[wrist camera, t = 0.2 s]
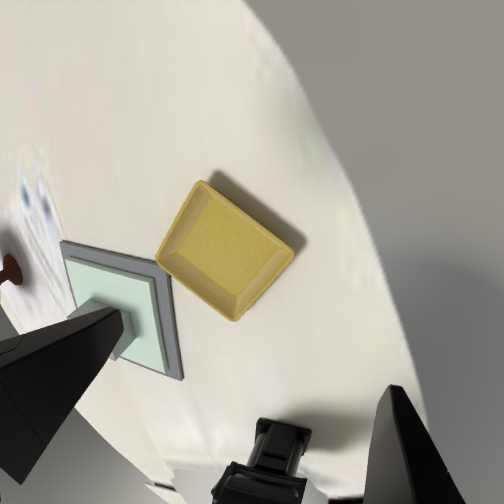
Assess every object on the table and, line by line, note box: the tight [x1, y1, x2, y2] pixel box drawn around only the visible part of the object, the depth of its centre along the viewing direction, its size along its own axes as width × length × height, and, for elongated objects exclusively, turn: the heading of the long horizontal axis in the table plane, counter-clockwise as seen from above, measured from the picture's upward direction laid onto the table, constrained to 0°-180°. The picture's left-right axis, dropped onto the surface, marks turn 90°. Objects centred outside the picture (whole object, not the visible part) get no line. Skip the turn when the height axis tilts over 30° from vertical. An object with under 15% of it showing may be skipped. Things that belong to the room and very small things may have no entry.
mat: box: [59, 241, 183, 381], centre depth 32 cm, size 15×15×1 cm
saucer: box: [155, 180, 295, 322], centre depth 24 cm, size 9×9×2 cm
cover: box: [65, 256, 168, 373], centre depth 30 cm, size 12×12×5 cm
